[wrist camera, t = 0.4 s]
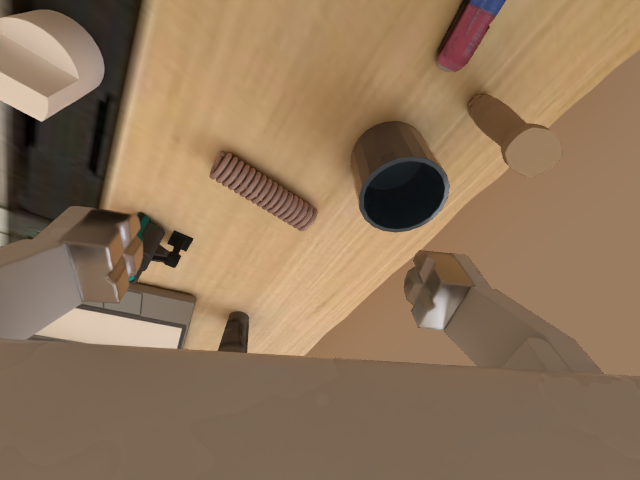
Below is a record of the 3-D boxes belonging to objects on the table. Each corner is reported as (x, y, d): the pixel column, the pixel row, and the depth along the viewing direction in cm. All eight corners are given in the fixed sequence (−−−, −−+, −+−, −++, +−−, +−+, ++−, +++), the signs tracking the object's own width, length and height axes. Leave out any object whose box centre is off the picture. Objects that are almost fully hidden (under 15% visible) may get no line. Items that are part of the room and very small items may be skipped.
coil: (320, 219, 53) (220, 155, 45) (303, 238, 55) (203, 180, 47) (318, 205, 57) (224, 143, 49) (302, 223, 58) (209, 167, 51)
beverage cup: (254, 327, 80) (241, 414, 65) (223, 325, 79) (203, 413, 64) (255, 309, 75) (242, 398, 60) (222, 306, 74) (201, 396, 59)
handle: (476, 75, 43) (536, 118, 32) (507, 101, 46) (572, 150, 34) (449, 106, 46) (495, 156, 35) (479, 130, 48) (531, 184, 37)
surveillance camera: (163, 304, 54) (97, 281, 50) (184, 253, 63) (130, 231, 59) (175, 285, 51) (105, 260, 47) (195, 235, 60) (138, 210, 56)
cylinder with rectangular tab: (113, 46, 40) (56, 73, 31) (94, 106, 44) (39, 145, 35) (27, -11, 36) (-67, 1, 27) (15, 61, 41) (-68, 92, 32)
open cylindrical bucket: (361, 115, 46) (373, 150, 38) (437, 128, 48) (465, 164, 40) (343, 184, 54) (349, 226, 46) (409, 194, 55) (427, 236, 47)
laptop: (197, 293, 71) (150, 440, 49) (181, 353, 87) (140, 484, 65) (6, 251, 61) (-154, 411, 40) (27, 327, 77) (-79, 471, 56)
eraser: (455, 74, 43) (460, 78, 42) (429, 63, 42) (433, 67, 41) (517, -30, 36) (525, -29, 35) (487, -47, 35) (494, -46, 34)
